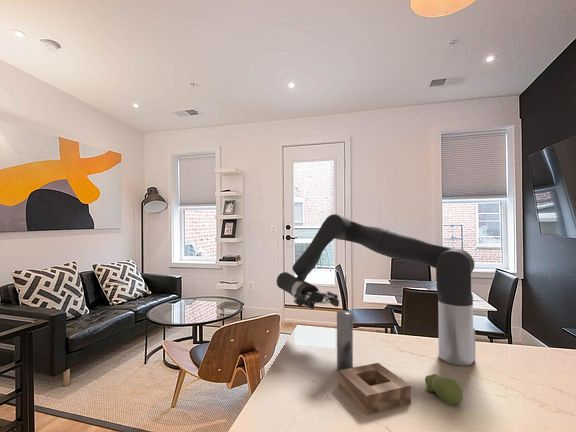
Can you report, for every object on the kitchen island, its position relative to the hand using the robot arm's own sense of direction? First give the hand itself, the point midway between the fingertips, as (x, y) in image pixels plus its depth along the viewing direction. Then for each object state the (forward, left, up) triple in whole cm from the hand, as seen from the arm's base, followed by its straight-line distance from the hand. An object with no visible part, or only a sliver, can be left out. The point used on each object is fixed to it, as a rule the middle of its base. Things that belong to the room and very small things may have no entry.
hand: (325, 304), depth 97 cm
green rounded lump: (-15, +31, -16) cm, 38 cm away
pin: (0, +11, -15) cm, 19 cm away
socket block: (0, +24, -15) cm, 29 cm away
